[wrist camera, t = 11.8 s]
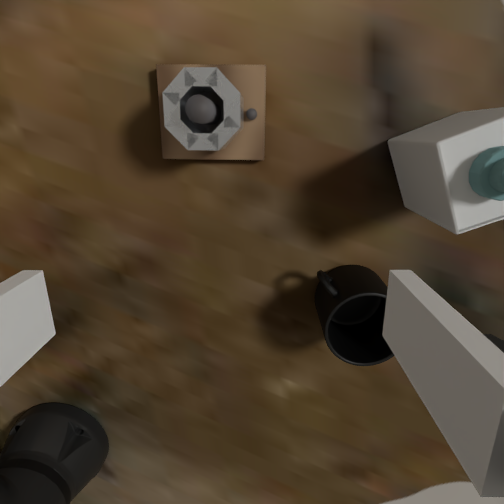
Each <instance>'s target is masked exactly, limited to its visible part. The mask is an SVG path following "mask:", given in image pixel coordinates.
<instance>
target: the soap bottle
mask: <svg viewBox="0 0 504 504" xmlns="http://www.w3.org/2000/svg"><path fill="white" fill-rule="evenodd" d="M388 146H389V150H390V154H391V158H392V161H393V165H394V169H395V173H396V176H397V180H398V184H399V188H400V192H401V195H402V199H403V203H404V206H405V207H406V208H408V209H409V210H411V211H413V212H415V213H417V214H419V215H421V216H423V217H425V218H426V219H428V220H430V221H432V222H434V223H436V224H438V225H440V226H442V227H443V228H445V229H447V230H449V231H451V232H453V233H455V234H460V233H463V232H466V231H469V230H472V229H475V228H478V227H481V226H484V225H487V224H490V223H493V222H496V221H499V220H502V219H504V107H502V108H493V109H484V110H475V111H465V112H459V113H456V114H453V115H451V116H448V117H446V118H443V119H441V120H438V121H435V122H433V123H430V124H428V125H425V126H423V127H420V128H417V129H415V130H412V131H410V132H407V133H404V134H402V135H399V136H397V137H394V138H392V139H389V140H388Z"/></svg>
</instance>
